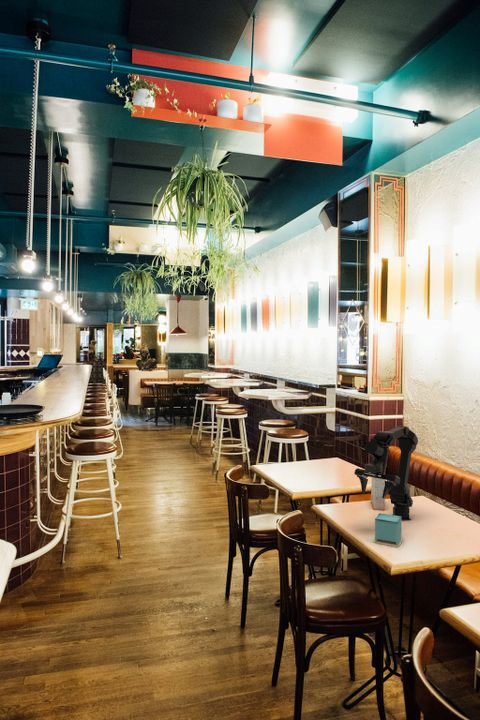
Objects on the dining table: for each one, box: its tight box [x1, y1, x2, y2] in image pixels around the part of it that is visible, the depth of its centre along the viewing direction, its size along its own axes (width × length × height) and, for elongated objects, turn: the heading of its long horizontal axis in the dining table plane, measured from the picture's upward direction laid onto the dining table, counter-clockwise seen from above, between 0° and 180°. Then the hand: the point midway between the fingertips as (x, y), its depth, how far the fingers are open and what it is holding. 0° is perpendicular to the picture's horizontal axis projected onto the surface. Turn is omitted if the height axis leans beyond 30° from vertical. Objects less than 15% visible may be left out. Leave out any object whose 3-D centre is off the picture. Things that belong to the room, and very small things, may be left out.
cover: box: [374, 512, 402, 544], centre depth 199 cm, size 8×9×9 cm
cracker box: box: [370, 475, 386, 511], centre depth 246 cm, size 14×6×21 cm, turn 168°
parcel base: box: [373, 536, 404, 548], centre depth 200 cm, size 10×10×1 cm
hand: (372, 496), depth 207 cm, fingers open, 9 cm apart
